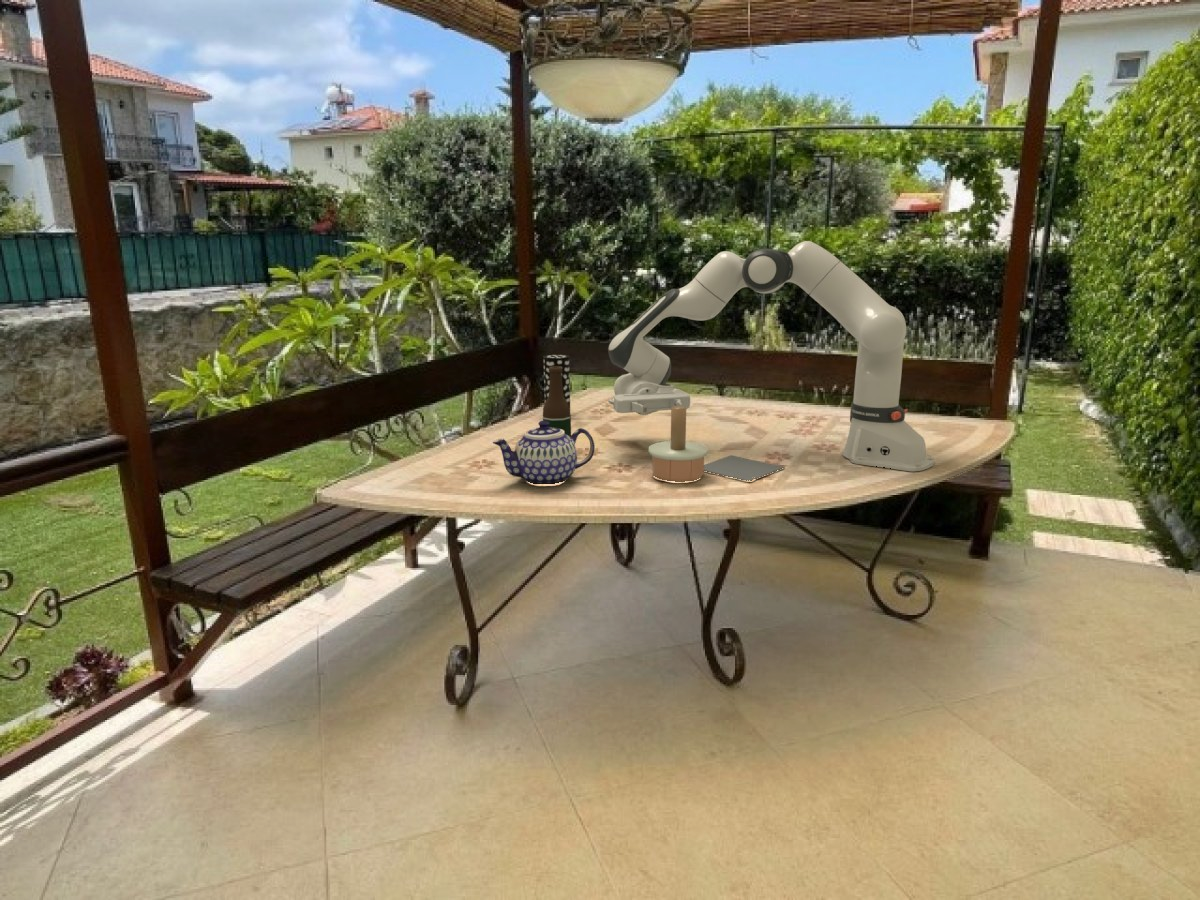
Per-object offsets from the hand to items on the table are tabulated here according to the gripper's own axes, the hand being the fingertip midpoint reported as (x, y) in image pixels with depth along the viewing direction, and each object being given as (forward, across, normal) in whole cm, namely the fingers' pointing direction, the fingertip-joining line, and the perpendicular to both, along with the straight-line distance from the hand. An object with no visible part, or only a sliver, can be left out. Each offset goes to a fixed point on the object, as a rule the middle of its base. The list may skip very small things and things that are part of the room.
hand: (661, 408), depth 187 cm
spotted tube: (-62, -12, +15) cm, 65 cm away
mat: (+10, +17, +15) cm, 25 cm away
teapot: (+4, -31, +15) cm, 35 cm away
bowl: (+11, 0, +15) cm, 18 cm away
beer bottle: (-16, -23, +15) cm, 32 cm away
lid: (+11, 0, +9) cm, 14 cm away
